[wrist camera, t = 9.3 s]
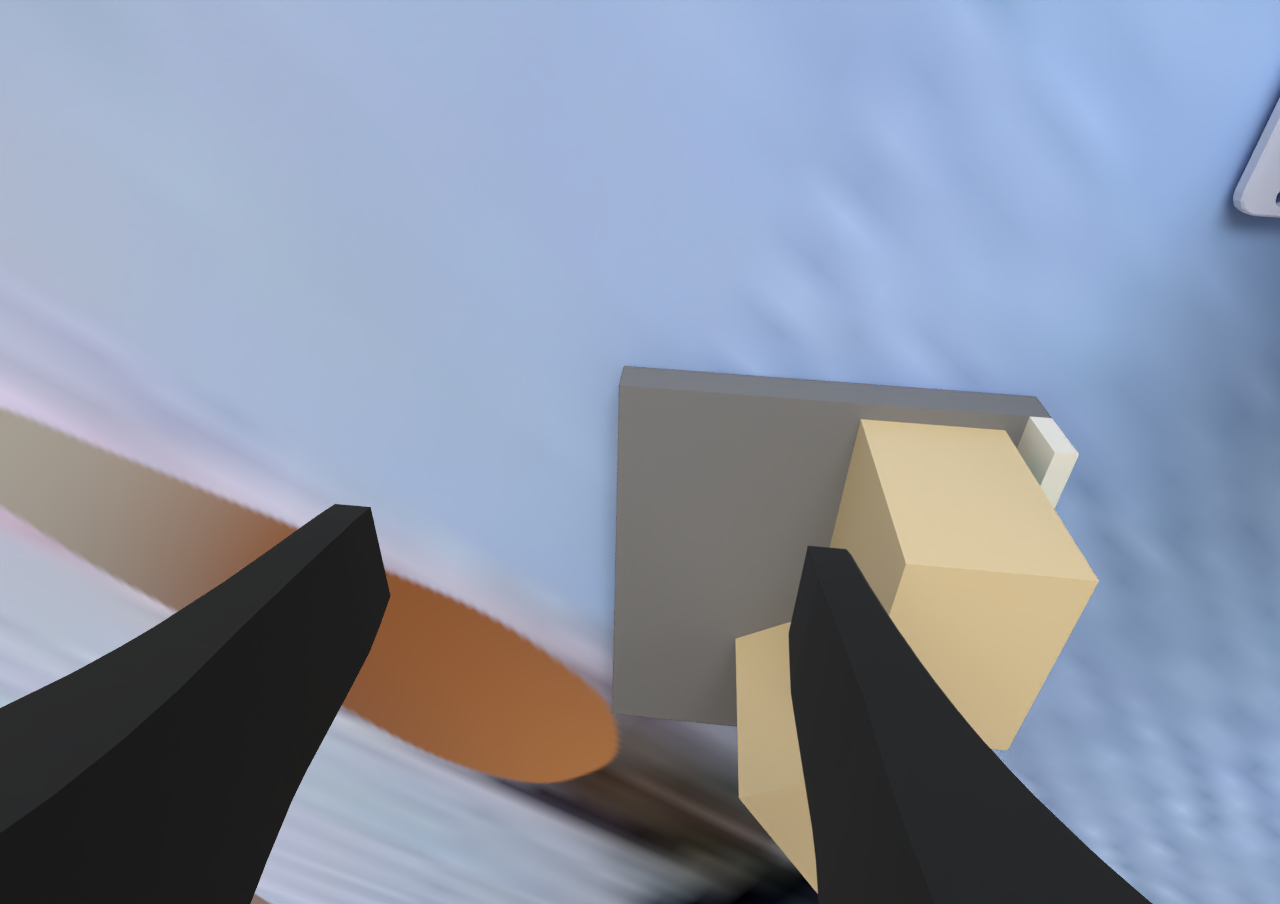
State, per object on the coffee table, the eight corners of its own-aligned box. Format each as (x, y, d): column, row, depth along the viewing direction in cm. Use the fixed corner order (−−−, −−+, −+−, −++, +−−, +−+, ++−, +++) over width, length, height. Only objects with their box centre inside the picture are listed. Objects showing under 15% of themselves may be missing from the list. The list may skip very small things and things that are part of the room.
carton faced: (947, 585, 23) (1008, 750, 18) (823, 574, 24) (850, 734, 19) (1006, 430, 20) (1099, 581, 15) (860, 419, 20) (906, 563, 15)
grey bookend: (1036, 396, 21) (1079, 454, 18) (909, 718, 29) (926, 788, 27) (623, 366, 21) (611, 417, 19) (615, 688, 30) (606, 753, 27)
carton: (902, 709, 27) (942, 874, 22) (801, 734, 28) (819, 895, 23) (842, 605, 24) (873, 767, 19) (735, 638, 26) (738, 797, 21)
